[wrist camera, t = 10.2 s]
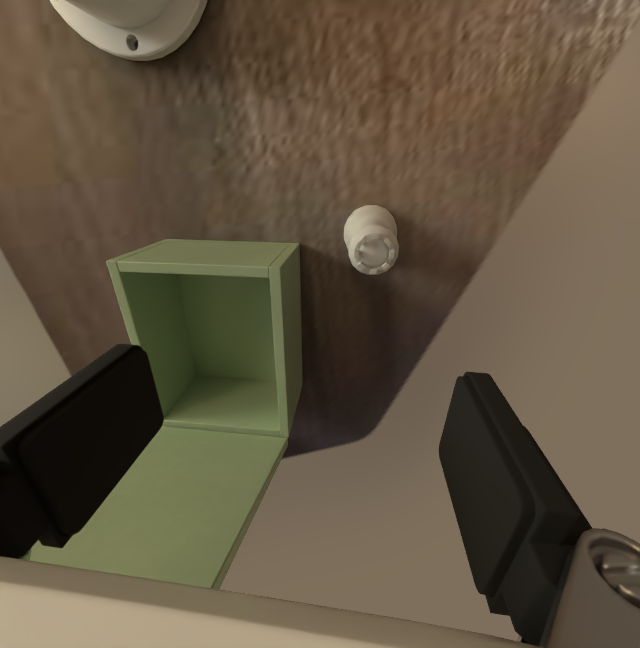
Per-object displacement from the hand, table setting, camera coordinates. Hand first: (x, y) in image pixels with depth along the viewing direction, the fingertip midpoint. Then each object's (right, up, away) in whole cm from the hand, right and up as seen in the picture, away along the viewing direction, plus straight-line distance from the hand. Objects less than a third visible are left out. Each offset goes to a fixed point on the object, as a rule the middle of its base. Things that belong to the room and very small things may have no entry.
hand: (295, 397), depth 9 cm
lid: (-9, -8, +10) cm, 16 cm away
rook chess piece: (+5, +10, +17) cm, 21 cm away
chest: (-7, +3, +22) cm, 24 cm away
